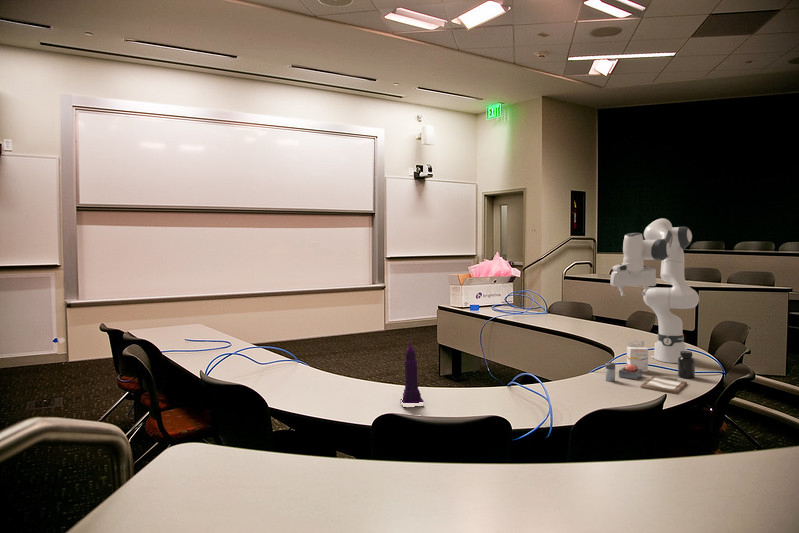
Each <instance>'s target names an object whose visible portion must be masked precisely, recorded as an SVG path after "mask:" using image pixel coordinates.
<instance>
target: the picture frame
mask: <svg viewBox="0 0 799 533" xmlns="http://www.w3.org/2000/svg"><path fill="white" fill-rule="evenodd" d="M686 385H688V382H687V381H685V380H678V378H677V377H671V376H666V375H665V376H664V375H662V376H661V377H659V376H652V377H650V378H649V379H648V380H646V381H645V382H644V383H642V384H641V385H640V388H641V389H646V390H651V391H658V392H662V393H663V392H664V393H667V394H674V395H677V394H678V393H679V392H680V391H681V390H682V389H683V388H685V387H686Z"/></svg>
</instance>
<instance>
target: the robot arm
mask: <svg viewBox="0 0 799 533" xmlns="http://www.w3.org/2000/svg"><path fill="white" fill-rule="evenodd" d="M692 239H693V234H692V231H691V230H690V228H689V227H687V226H677V227H675V226H674V227H673V225H672V223H671V221H670V220H669V219H667V218H658V219H656V220H654V221H652V222H651V223H650V224H648V225H647V226H646V227H645V229H644V231H643V233H641V232H629V233H626V234H624V239H623V244H622V254H623V259H622V263H619V264H615V265H614V266H612V268H611V269H612V272H611V275H610V279H609V280H610V284H609V285H610V286H611V287H617V289H618V290H619V292H620V296H621V297H625V296H626V292H625V291H624V290H623V289H624V287H643V291H641V292H640V293H641V294H640V296H643V298H642V299H643V302H644V303H645V305H646V306H648V307H649V308H650V309H651V310H652V311H653V313H654V314H655V315H656V317H657V322H658V332H657V342H656V341H655V343H654V351H653V352H654V354H652V355H651V356H650V357H651V358H652V359H653V360H654V359H655V360H656V361H659V362H663V363H670V364H678V358H679V357H680V356H681V355H680V351H688V349H687V348H688V347H687V345H686V343H685V342H684V341H685V340H684V339H685V334H684V333H683V320H682V318H681V317H679V316H677V315H676V314H674V313H672V312H671V311H670V309H674V310H675V309H680V310H686V309H694V308H696V307H697V305H698V304H699V302H700V296H699V294H698V292H697V291H696V289H693V288H692V287H691V286H690V285H689V284H688V283H687V281H686V276H685V253H684V250H686V249H687V247H688V246H689V245H690V244H691V243H692ZM644 260H645V261H646V260H647V261H648V260H651V261H653V260H654V261H661V262H660V263H661V264H660V272H659V273H660V278H661V281H664V282H665V283H667V284H669V285H670V286H672V287H657V286H656V285H657V275H656V274H657V270H656V268H654V267H653V266H644V265H645V264H644ZM649 287H651V288H649Z"/></svg>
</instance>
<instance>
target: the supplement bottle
mask: <svg viewBox="0 0 799 533" xmlns="http://www.w3.org/2000/svg"><path fill="white" fill-rule="evenodd" d="M680 355H681V356H680V357H679V358H678V363H677V375H678V378H681V379H687V380H688V379H689V380H691V379H695V377H696V365H695V364H696V360H695V358H694V357H693V351H691V350H690V351H689V350H687V351H680Z"/></svg>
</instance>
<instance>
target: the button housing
mask: <svg viewBox="0 0 799 533" xmlns="http://www.w3.org/2000/svg"><path fill="white" fill-rule="evenodd" d="M642 377H643V372H642V369H636V372H630V371H626V369H625V366H624V367H622V368H621V369H619V370H618V378H622V379H629V380H635V381H637V380H639V379H641V378H642Z"/></svg>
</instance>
